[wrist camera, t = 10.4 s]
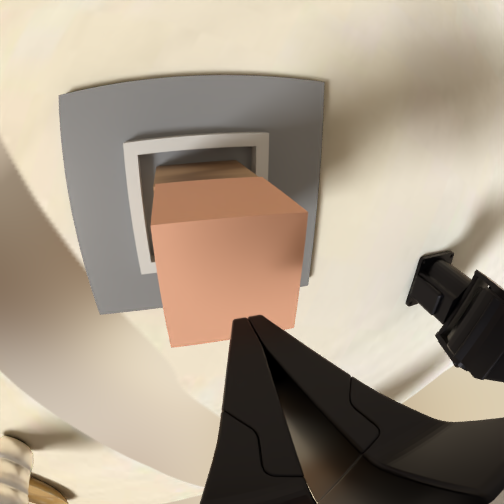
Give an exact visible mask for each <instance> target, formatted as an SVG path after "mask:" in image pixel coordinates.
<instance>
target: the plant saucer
mask: <svg viewBox="0 0 504 504" xmlns="http://www.w3.org/2000/svg"><path fill="white" fill-rule="evenodd" d="M28 498H29V502H32V503H35V504H68V502H67V500H66V499H65V498H64V496H63V495H62V494H61V493H60V492H58V491H57V490H56V489H55V488H53V487H51V486H50V485H48V484H46V483H44V482H42V481H40V480H37V479H35V478H33V477H31V476H30V480H29V487H28Z"/></svg>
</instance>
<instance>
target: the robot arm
mask: <svg viewBox="0 0 504 504" xmlns="http://www.w3.org/2000/svg"><path fill="white" fill-rule="evenodd" d="M453 256H454V253H453V252H452V251H448V252H444V253H439V254H434V255H430V256H425V257H422V258H421V259H420V260H419V263H418V267H417V270H416V273H415V277H414V280H413V283H412V286H411V289H410V292H409V295H408V298H407V301H406V305H407V306H412V305H415V304H418V303H419V304H420V305H421V306H422V307H423V308H424V309H425V310H426V311H428V312H429V313H430V314H431V315H433V316H434V317H436V318H437V319H438V320H439V321H440V322H441V323H442V324H444V325H443V326H442V328H441V329H440V330H439V332H437V333H436V335H435V336H436V338H437V339H438V342H439V343H440V345H441V346H442V347H443V349H444V350H445V352H446V353H447V355H448V356H449V357H450V359H451V360H452V362H453V364H454V366H455V367H460V368H462V369H464V370H466V371H469V372H470V373H471V374H472V376H473V377H474V378H477V379H481V380H484V379H487V380H493V381H499V382H504V289H503V288H502V287H501V286H499V285H498V284H497V283H495V282H494V281H493V280H491V279H490V278H489V277H487V276H486V275H484V274H483V273H481V272H480V271H478V270H477V269H476V271H475V273H474V276H473V278H472V280H471V279H470V278H469V277H468V276H466V275H465V274H464V273H462V272H461V271H460V270H458V269H457V268H456V267H454V266H453V265H451V262H452V259H453ZM488 285H489V288H488ZM306 482H307V483H306ZM307 484H308V485H307ZM308 486H309V488H310V490H311V492H312V494H313V496H314V498H315V500H316V501H317V502H318V504H504V418H496V419H487V420H478V421H467V422H446V421H441V420H437V419H434V418H431V417H429V416H427V415H424V414H422V413H420V412H418V411H416V410H413V409H411V408H409V407H407V406H405V405H403V404H401V403H398V402H396V401H394V400H392V399H390V398H388V397H386V396H384V395H382V394H381V393H379V392H377V391H375V390H374V389H372V388H370V387H369V386H367V385H365V384H364V383H362V382H360V381H359V380H357V379H356V378H354V377H351V376H350V375H349V374H348V373H346V372H345V371H343V370H342V369H340V368H339V367H337V366H336V365H334V364H333V363H331V362H330V361H328V360H327V359H325V358H324V357H322V356H321V355H319V354H318V353H316V352H315V351H313V350H312V349H310V348H309V347H307V346H306V345H304V344H303V343H302V342H300V341H299V340H297V339H296V338H294V337H293V336H291V335H290V334H288V333H287V332H286V331H284V330H283V329H281V328H280V327H278V326H277V325H276V324H274V323H273V322H271V321H270V320H269V319H267V318H266V317H264V316H263V315H254V316H249V317H248V318H246V317H243V318H237V319H234V320H233V321H232V329H231V337H230V345H229V353H228V362H227V370H226V378H225V387H224V395H223V404H222V413H221V420H220V427H219V434H218V440H217V445H216V449H215V453H214V457H213V461H212V464H211V468H210V471H209V474H208V478H207V481H206V484H205V488H204V491H203V494H202V498H201V501H200V504H317V503H316V501H315V500H314V498H313V497H312V494H311V492H310V490H309V488H308Z"/></svg>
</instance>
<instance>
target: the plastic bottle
mask: <svg viewBox="0 0 504 504" xmlns="http://www.w3.org/2000/svg"><path fill="white" fill-rule="evenodd" d="M33 463H34V459H33V453H32V451H31V449H30V448H29V447H28V446H27V445H26V444H24V443H23V442H21V441H19V440H17V439H15V438H12V437H9V436H2V437H1V438H0V504H29V498H28V487H29V480H30V473H31V471H32V468H33Z"/></svg>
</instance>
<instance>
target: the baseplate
mask: <svg viewBox="0 0 504 504" xmlns="http://www.w3.org/2000/svg"><path fill="white" fill-rule="evenodd" d="M323 110H324V82H320V81H312V80H304V79H294V78H283V77H270V76H249V75H199V76H179V77H166V78H155V79H146V80H137V81H130V82H123V83H116V84H110V85H104V86H99V87H94V88H89V89H84V90H79V91H75V92H71V93H66V94H62V95H59V116H60V130H61V142H62V152H63V160H64V168H65V175H66V182H67V188H68V194H69V199H70V205H71V210H72V215H73V220H74V225H75V229H76V233H77V238H78V242H79V246H80V250H81V254H82V258H83V261H84V265H85V269H86V272H87V276H88V279H89V282H90V286H91V289H92V292H93V295H94V298H95V301H96V304H97V307H98V310H99V313H100V314H111V313H120V312H129V311H138V310H147V309H155V308H163V304H162V299H161V293H160V288H159V282H158V275H157V269H156V262H155V256H154V249H153V241H152V233H151V216H152V206H153V198H154V191H153V184H154V178H155V172H156V167H157V166H166V165H176V164H186V163H198V162H212V161H227V160H237V161H238V162H240V163H241V164H242V165H244V166H245V167H246V168H248V169H249V170H250V171H252V172H253V173H254V174H256V175H257V176H258V177H263V178H264V179H266V180H267V181H269V182H270V183H271V184H273V185H274V186H275V187H277V188H278V189H279V190H281V191H282V192H283V193H284V194H286V195H287V196H288V197H290V198H291V199H292V200H294V201H295V202H296V203H297V204H299V205H300V206H301V207H303V208H304V209H305V210H306V211H308V220H307V230H306V239H305V248H304V257H303V265H302V273H301V281H300V287H302V286H307V285H308V282H309V274H310V266H311V258H312V249H313V240H314V231H315V221H316V211H317V200H318V189H319V177H320V163H321V148H322V131H323Z"/></svg>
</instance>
